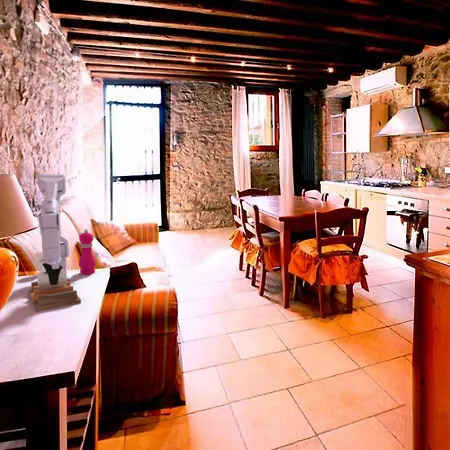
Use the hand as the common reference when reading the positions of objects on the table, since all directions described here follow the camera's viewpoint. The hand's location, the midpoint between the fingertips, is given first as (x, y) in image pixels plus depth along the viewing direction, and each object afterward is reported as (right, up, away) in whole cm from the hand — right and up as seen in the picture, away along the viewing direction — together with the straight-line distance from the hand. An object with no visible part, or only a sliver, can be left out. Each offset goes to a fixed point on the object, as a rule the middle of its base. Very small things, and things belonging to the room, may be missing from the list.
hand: (53, 283), depth 126 cm
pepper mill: (0, -1, +31) cm, 31 cm away
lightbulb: (-18, -1, +28) cm, 33 cm away
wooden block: (0, -4, 0) cm, 4 cm away
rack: (0, -5, +1) cm, 5 cm away
